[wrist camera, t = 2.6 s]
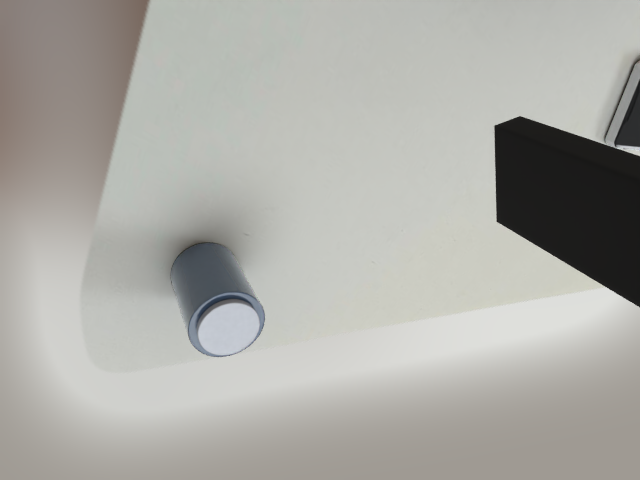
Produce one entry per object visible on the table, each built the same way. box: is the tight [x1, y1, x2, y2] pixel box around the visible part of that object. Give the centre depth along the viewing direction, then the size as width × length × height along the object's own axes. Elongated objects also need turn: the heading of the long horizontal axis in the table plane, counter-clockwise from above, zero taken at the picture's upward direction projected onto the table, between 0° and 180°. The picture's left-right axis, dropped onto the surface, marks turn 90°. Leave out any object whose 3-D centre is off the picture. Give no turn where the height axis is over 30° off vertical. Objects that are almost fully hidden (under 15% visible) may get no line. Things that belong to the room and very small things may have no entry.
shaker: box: [171, 243, 265, 357], centre depth 36 cm, size 5×5×8 cm
